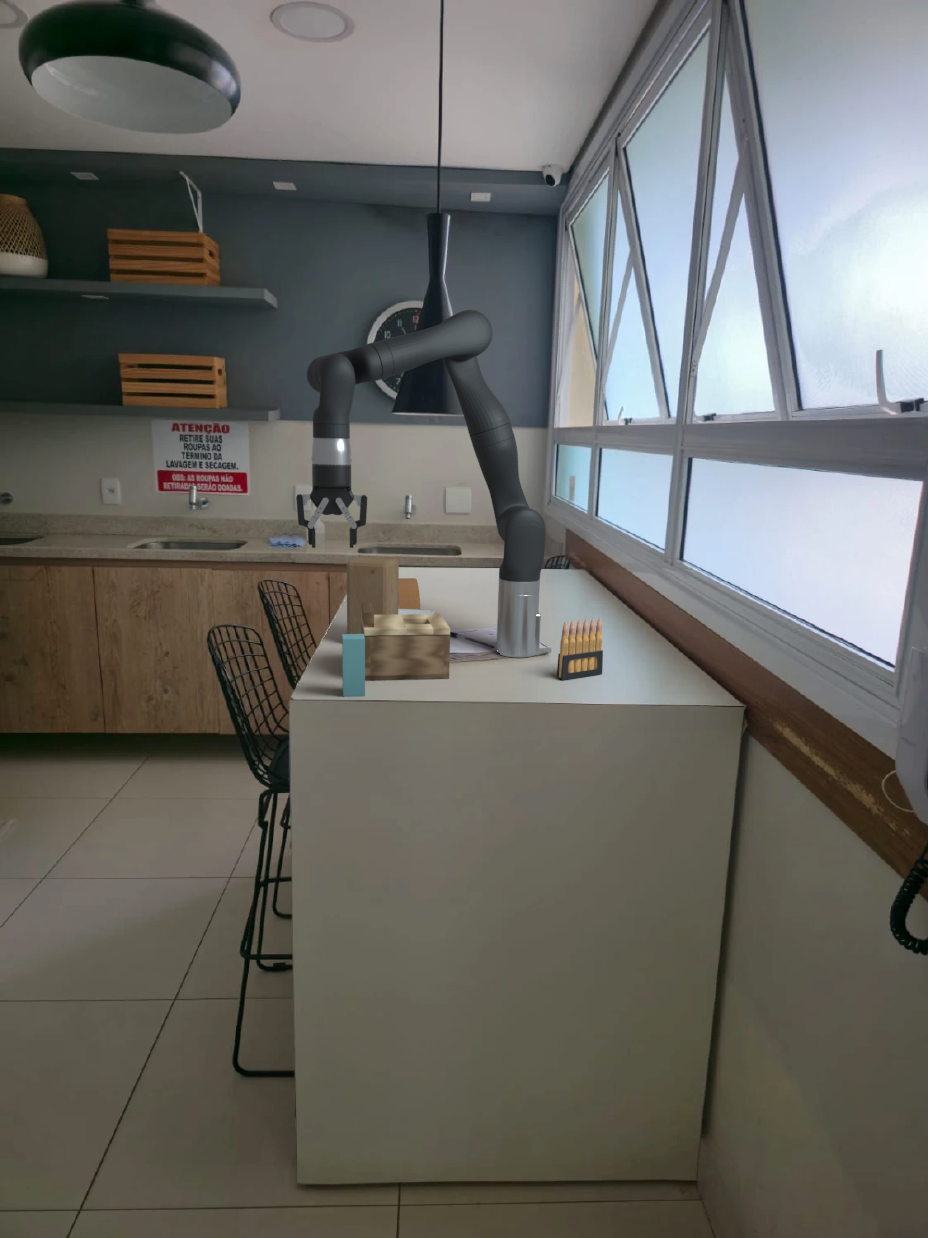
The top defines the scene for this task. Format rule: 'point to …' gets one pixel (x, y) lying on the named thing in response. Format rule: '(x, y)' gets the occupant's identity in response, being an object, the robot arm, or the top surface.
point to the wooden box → (406, 657)
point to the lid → (402, 623)
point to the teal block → (353, 664)
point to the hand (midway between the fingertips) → (332, 547)
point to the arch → (408, 594)
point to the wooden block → (371, 588)
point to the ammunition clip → (580, 651)
